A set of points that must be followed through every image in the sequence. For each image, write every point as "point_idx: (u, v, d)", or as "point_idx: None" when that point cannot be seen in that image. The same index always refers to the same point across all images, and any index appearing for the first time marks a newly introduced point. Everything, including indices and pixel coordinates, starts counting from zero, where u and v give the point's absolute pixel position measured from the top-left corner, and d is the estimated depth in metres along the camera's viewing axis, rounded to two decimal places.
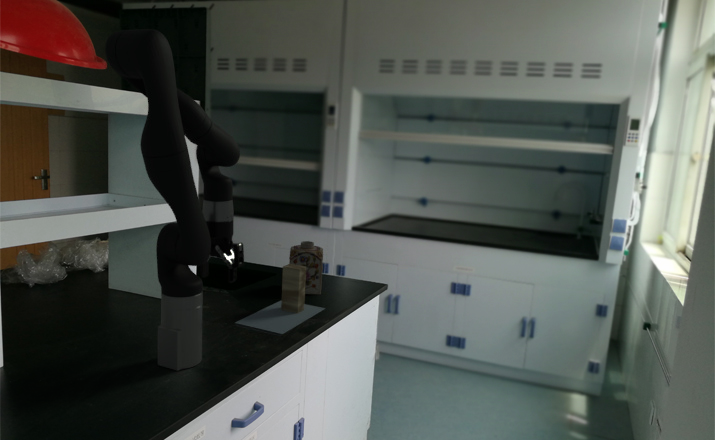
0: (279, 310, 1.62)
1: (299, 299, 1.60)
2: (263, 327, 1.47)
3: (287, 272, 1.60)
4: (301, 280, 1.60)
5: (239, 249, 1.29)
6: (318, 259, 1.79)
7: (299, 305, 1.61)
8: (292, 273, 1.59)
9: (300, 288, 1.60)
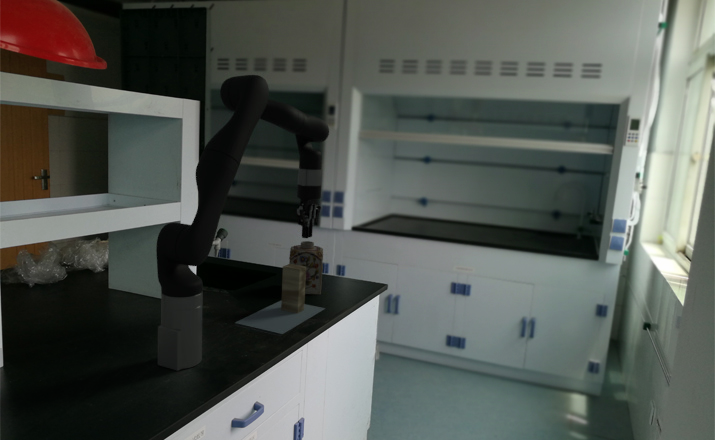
0: (279, 310, 1.62)
1: (299, 299, 1.60)
2: (263, 327, 1.47)
3: (287, 272, 1.60)
4: (301, 280, 1.60)
5: (297, 214, 1.60)
6: (318, 259, 1.79)
7: (299, 305, 1.61)
8: (292, 273, 1.59)
9: (300, 288, 1.60)
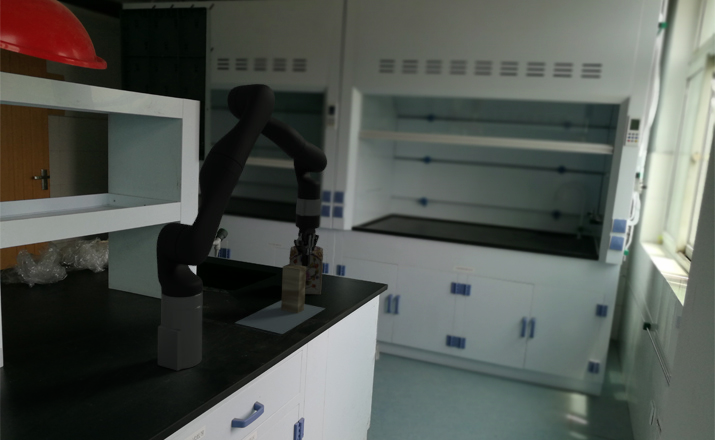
0: (279, 310, 1.62)
1: (299, 299, 1.60)
2: (263, 327, 1.47)
3: (287, 272, 1.60)
4: (301, 280, 1.60)
5: (296, 244, 1.62)
6: (318, 259, 1.79)
7: (299, 305, 1.61)
8: (292, 273, 1.59)
9: (300, 288, 1.60)
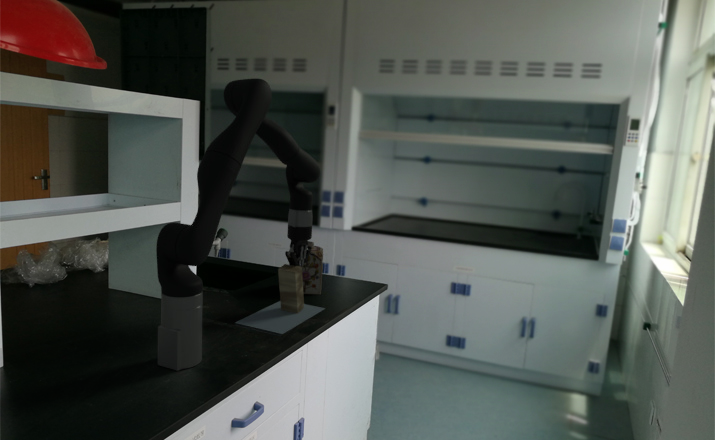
0: (279, 310, 1.62)
1: (298, 300, 1.59)
2: (263, 327, 1.47)
3: (282, 275, 1.58)
4: (298, 281, 1.58)
5: (288, 256, 1.58)
6: (318, 259, 1.79)
7: (298, 305, 1.60)
8: (288, 275, 1.57)
9: (298, 289, 1.59)
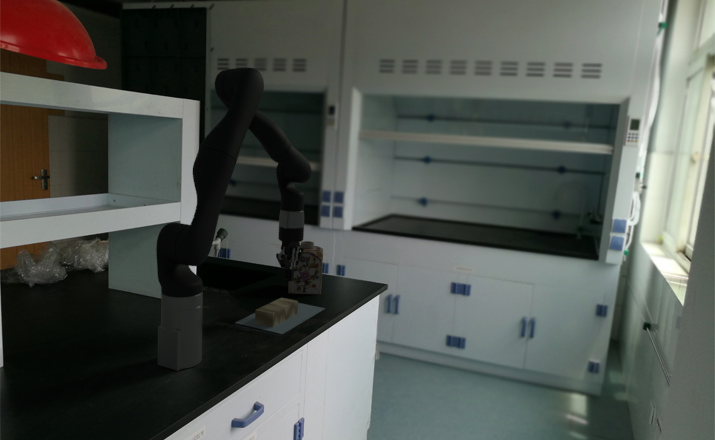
0: None
1: (290, 315, 1.56)
2: (263, 327, 1.47)
3: None
4: (280, 318, 1.51)
5: (279, 259, 1.53)
6: (318, 259, 1.79)
7: (293, 313, 1.58)
8: None
9: (284, 316, 1.53)
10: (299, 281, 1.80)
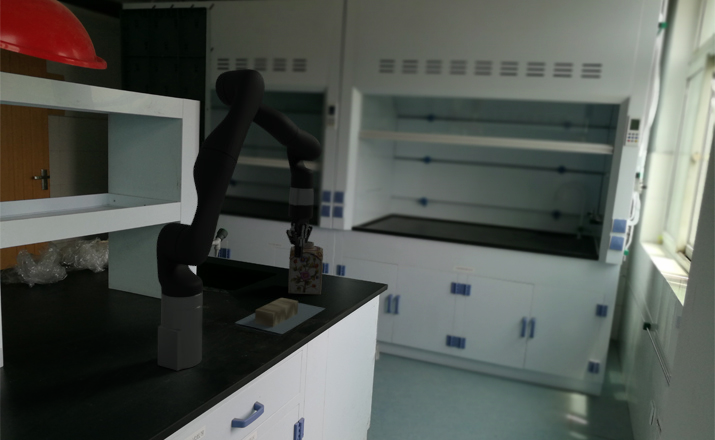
0: None
1: (290, 315, 1.56)
2: (263, 327, 1.47)
3: None
4: (280, 318, 1.51)
5: (289, 235, 1.57)
6: (318, 259, 1.79)
7: (293, 313, 1.58)
8: None
9: (284, 316, 1.53)
10: (299, 281, 1.80)
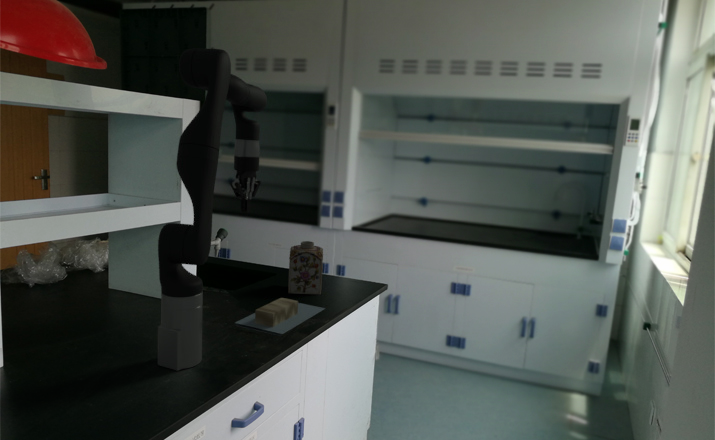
0: None
1: (290, 315, 1.56)
2: (263, 327, 1.47)
3: None
4: (280, 318, 1.51)
5: (233, 187, 1.54)
6: (318, 259, 1.79)
7: (293, 313, 1.58)
8: None
9: (284, 316, 1.53)
10: (299, 281, 1.80)
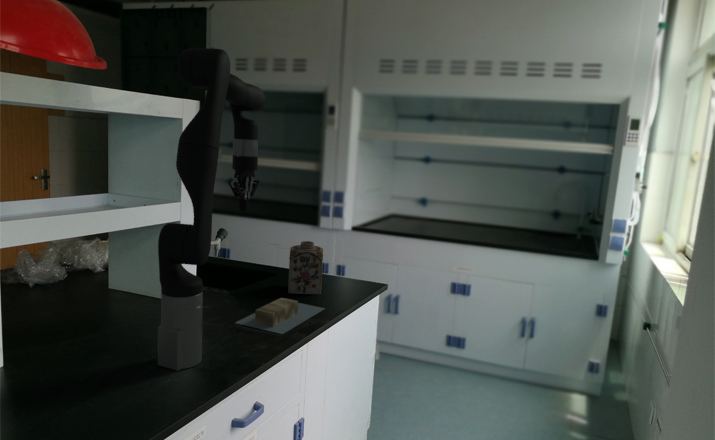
0: None
1: (290, 315, 1.56)
2: (263, 327, 1.47)
3: None
4: (280, 318, 1.51)
5: (232, 186, 1.54)
6: (318, 259, 1.79)
7: (293, 313, 1.58)
8: None
9: (284, 316, 1.53)
10: (299, 281, 1.80)
